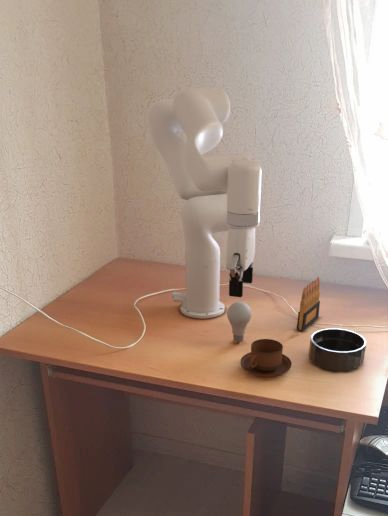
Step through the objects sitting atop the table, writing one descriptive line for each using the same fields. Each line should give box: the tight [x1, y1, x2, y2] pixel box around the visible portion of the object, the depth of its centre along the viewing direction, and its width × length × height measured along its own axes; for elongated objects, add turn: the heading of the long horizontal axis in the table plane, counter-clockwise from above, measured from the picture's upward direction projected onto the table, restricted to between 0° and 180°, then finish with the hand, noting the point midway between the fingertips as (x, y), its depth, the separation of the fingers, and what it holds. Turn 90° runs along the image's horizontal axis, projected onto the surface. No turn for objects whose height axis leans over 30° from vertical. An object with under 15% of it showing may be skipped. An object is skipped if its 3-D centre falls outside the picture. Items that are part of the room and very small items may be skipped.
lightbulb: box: [226, 301, 253, 344], centre depth 158 cm, size 6×6×11 cm
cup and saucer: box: [239, 338, 292, 378], centre depth 147 cm, size 12×12×6 cm
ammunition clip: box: [296, 276, 321, 332], centre depth 167 cm, size 11×2×12 cm, turn 148°
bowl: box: [308, 327, 367, 373], centre depth 151 cm, size 13×13×6 cm
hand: (240, 289), depth 153 cm, fingers open, 9 cm apart
